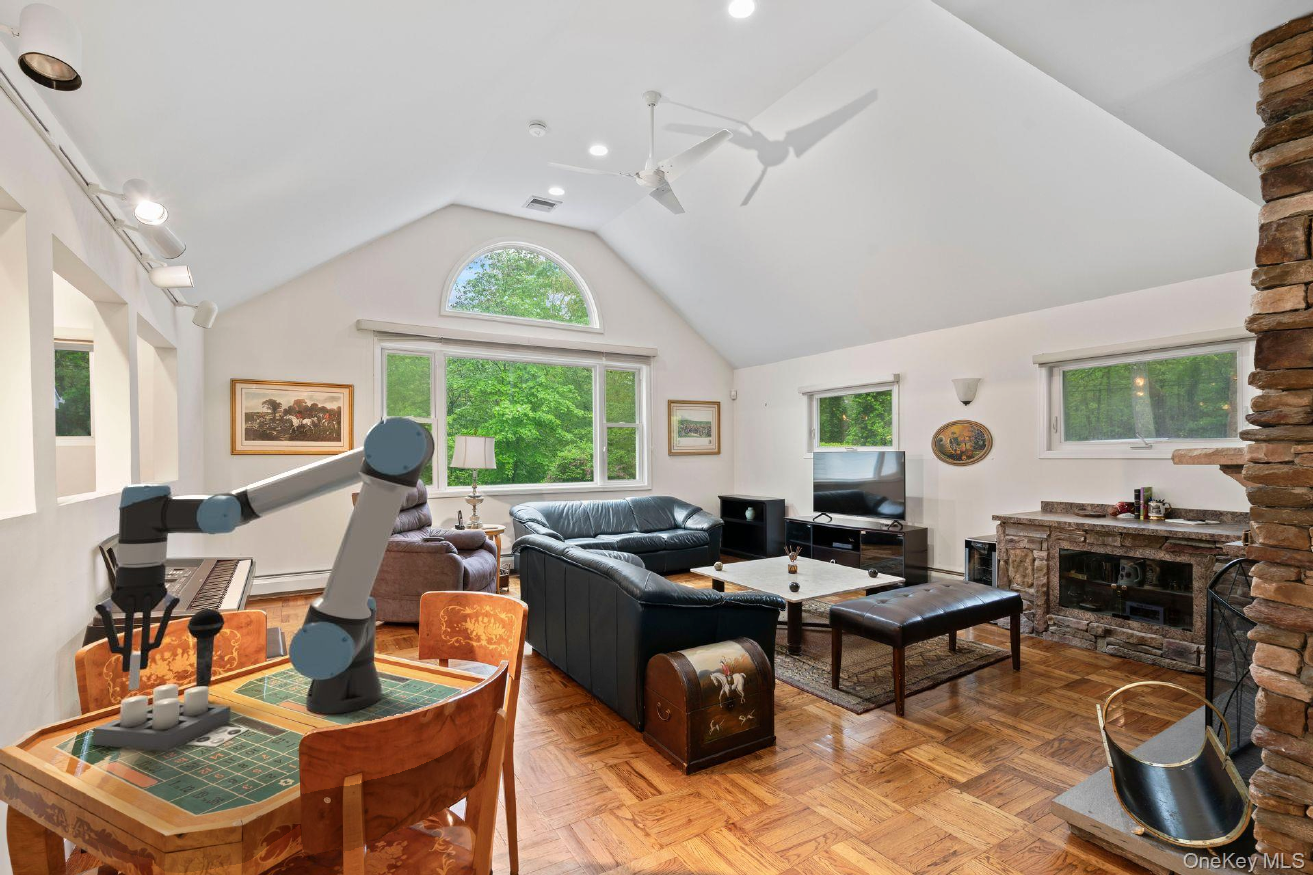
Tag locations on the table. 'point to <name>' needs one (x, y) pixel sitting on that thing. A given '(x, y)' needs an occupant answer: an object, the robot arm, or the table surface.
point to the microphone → (205, 641)
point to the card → (218, 736)
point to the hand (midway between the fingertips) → (133, 687)
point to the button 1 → (133, 711)
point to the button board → (161, 739)
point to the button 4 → (195, 701)
